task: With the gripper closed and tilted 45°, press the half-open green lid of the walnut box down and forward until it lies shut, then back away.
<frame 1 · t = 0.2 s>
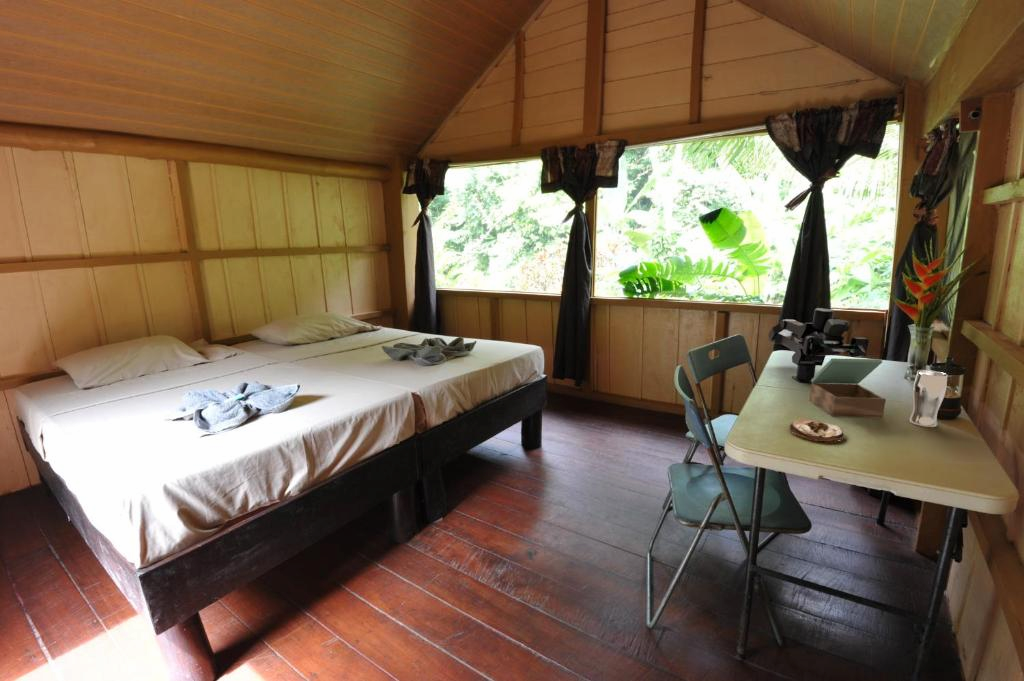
hand: (849, 353, 153), 16 cm above the table, tool horizontal, fingers open, 9 cm apart
walnut box: (844, 409, 152), on the table
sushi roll: (814, 435, 134), on the table
beer glass: (922, 423, 141), on the table
lid: (844, 369, 152), point 12 cm above the table, hinge at 45.0°
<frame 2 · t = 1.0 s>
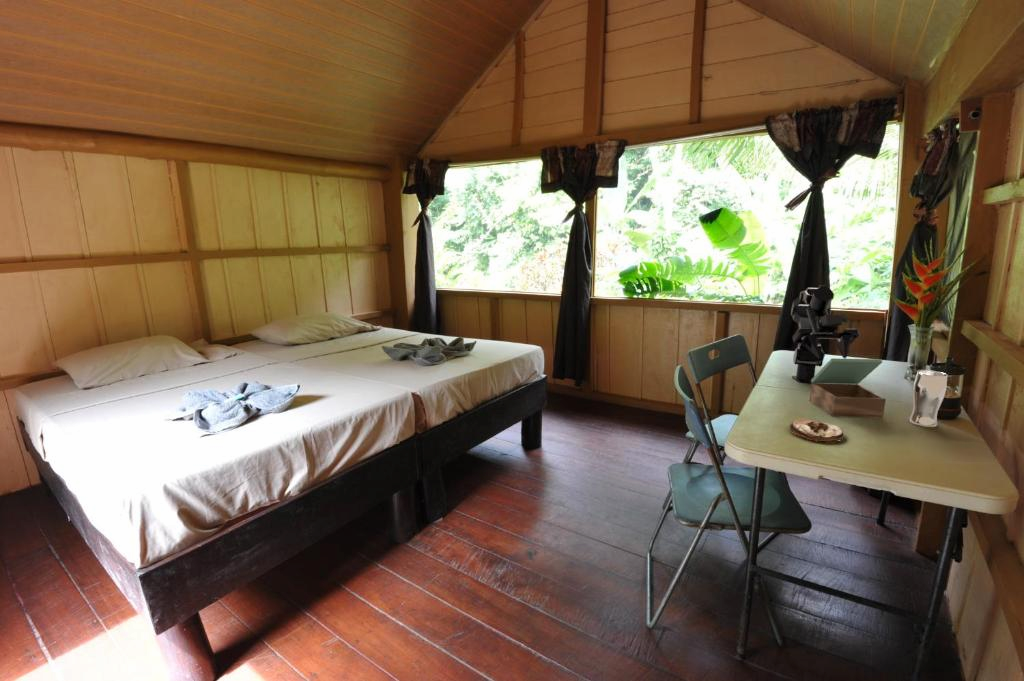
hand: (832, 357, 159), 14 cm above the table, tool tilted 45°, fingers open, 8 cm apart
nothing on the table moved.
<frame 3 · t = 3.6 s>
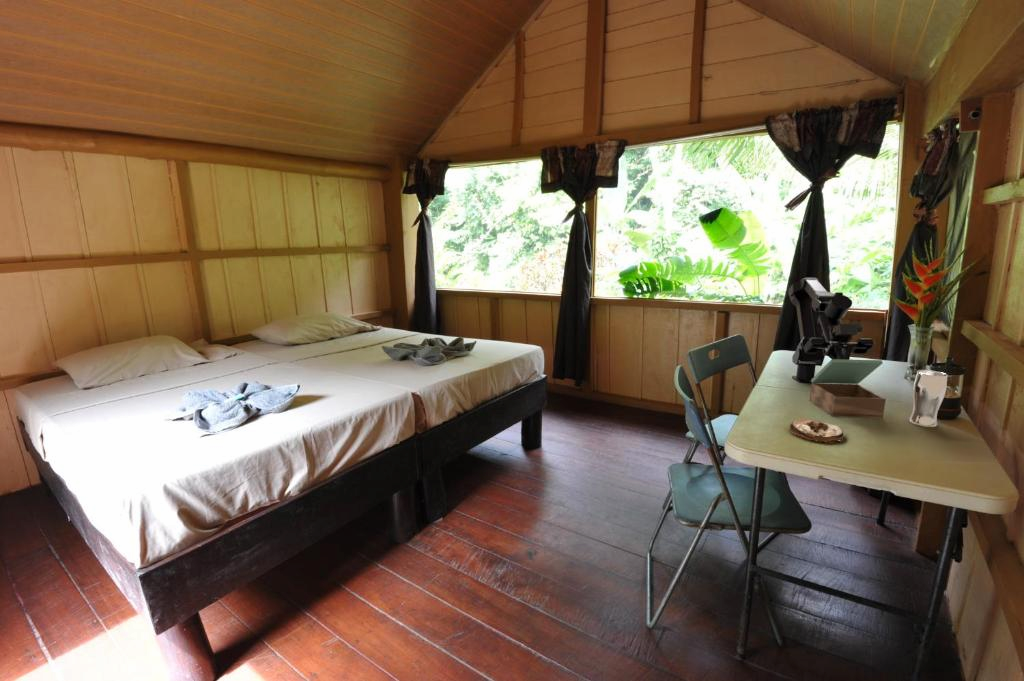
hand: (846, 369, 151), 12 cm above the table, tool tilted 45°, fingers closed, pressing on lid
lid: (844, 370, 152), point 12 cm above the table, hinge at 43.8°, touching gripper
everything else where it was.
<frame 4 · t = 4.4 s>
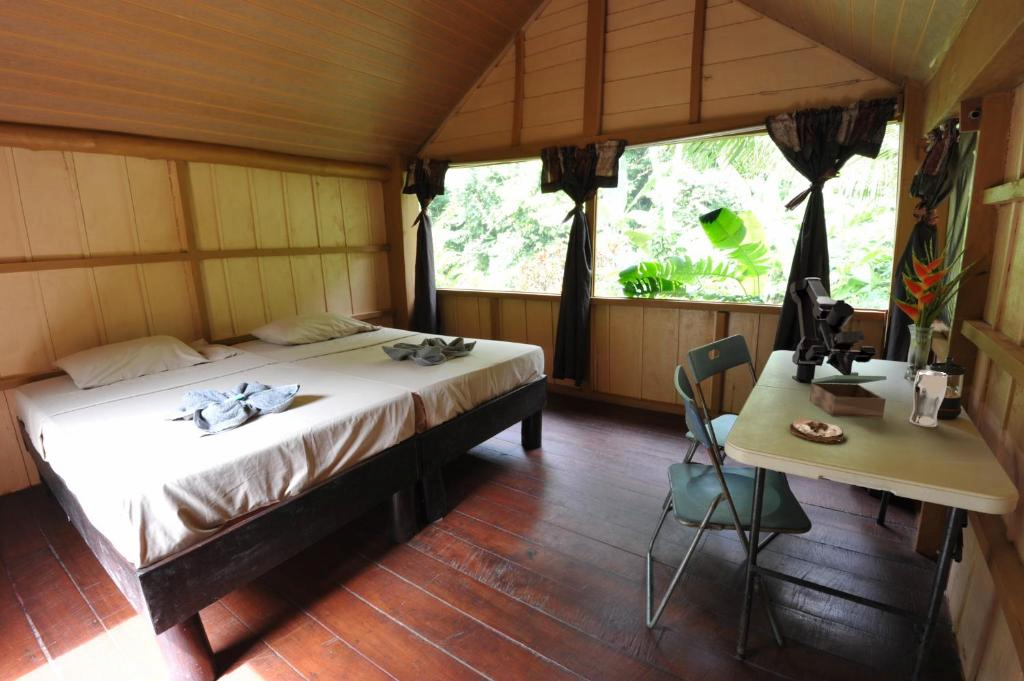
hand: (848, 377, 150), 10 cm above the table, tool tilted 45°, fingers closed, pressing on lid
lid: (846, 377, 151), point 10 cm above the table, hinge at 23.0°, touching gripper
everything else where it was.
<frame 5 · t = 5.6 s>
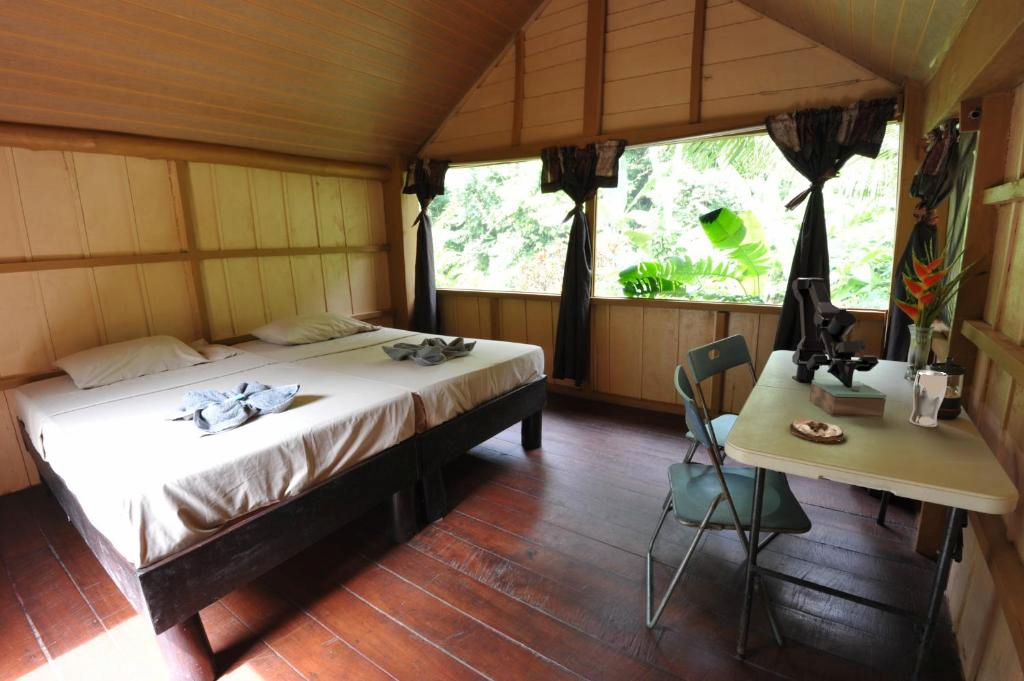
hand: (849, 387, 149), 7 cm above the table, tool tilted 45°, fingers closed, pressing on lid
lid: (847, 386, 150), point 7 cm above the table, hinge at 0.9°, touching gripper
everything else where it was.
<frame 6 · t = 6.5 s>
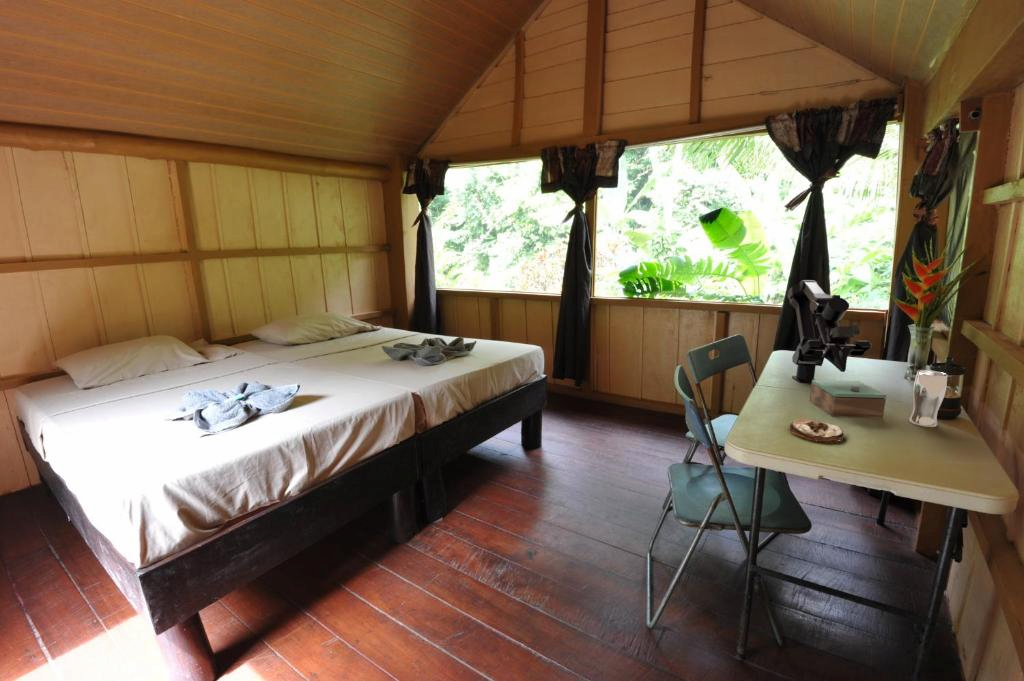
hand: (843, 371, 152), 11 cm above the table, tool tilted 45°, fingers closed
lid: (847, 386, 150), point 7 cm above the table, hinge at 0.8°
everything else where it was.
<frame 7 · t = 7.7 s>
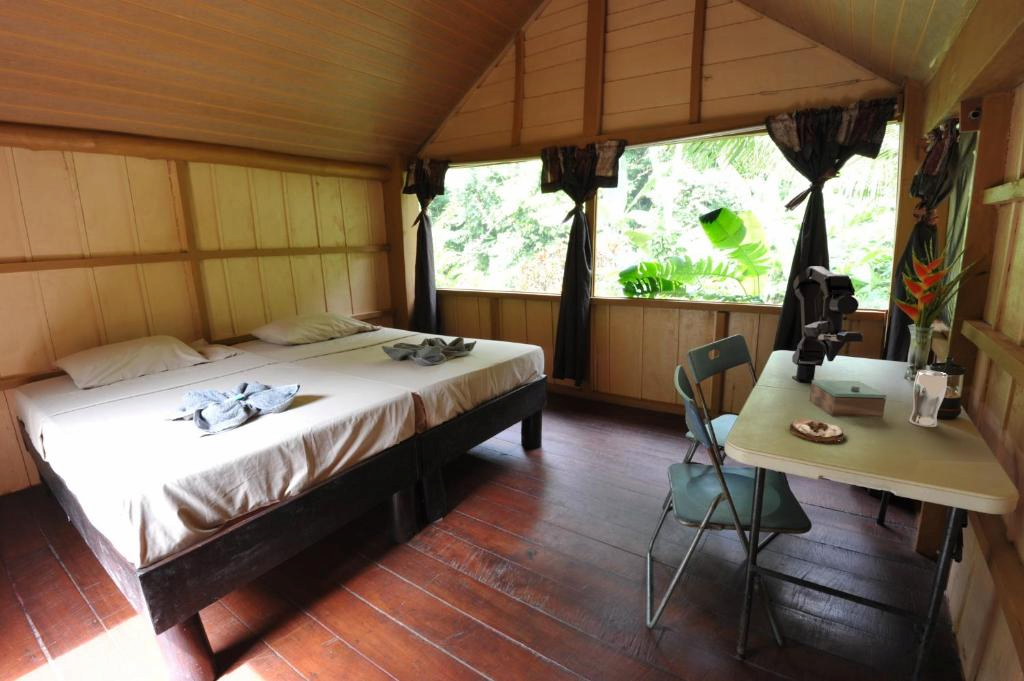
hand: (830, 361, 160), 12 cm above the table, tool pointing down, fingers closed
nothing on the table moved.
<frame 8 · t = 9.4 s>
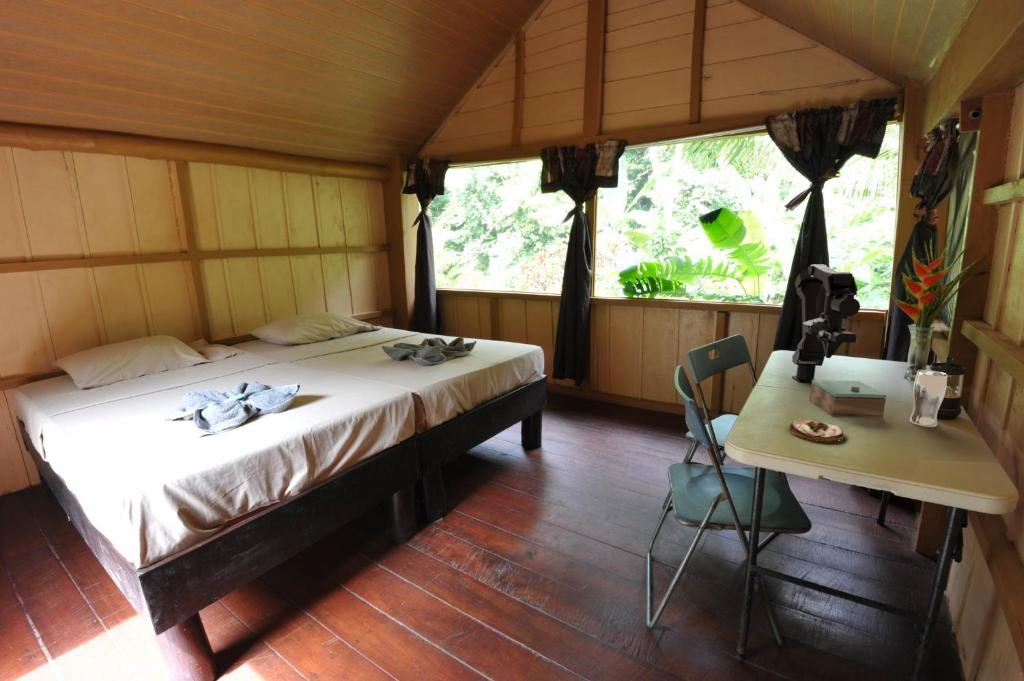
hand: (827, 357, 161), 13 cm above the table, tool pointing down, fingers closed
nothing on the table moved.
at the end: lid at +1° (first picture: +45°); beer glass moved 0.2 cm from its start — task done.
